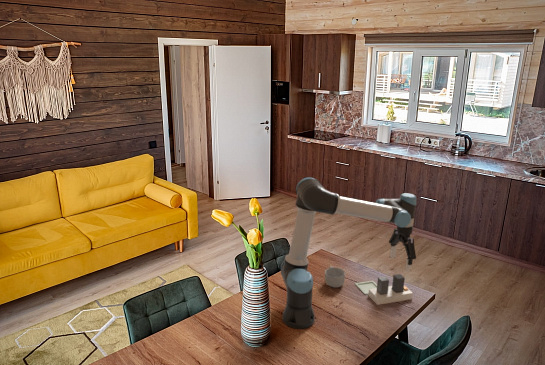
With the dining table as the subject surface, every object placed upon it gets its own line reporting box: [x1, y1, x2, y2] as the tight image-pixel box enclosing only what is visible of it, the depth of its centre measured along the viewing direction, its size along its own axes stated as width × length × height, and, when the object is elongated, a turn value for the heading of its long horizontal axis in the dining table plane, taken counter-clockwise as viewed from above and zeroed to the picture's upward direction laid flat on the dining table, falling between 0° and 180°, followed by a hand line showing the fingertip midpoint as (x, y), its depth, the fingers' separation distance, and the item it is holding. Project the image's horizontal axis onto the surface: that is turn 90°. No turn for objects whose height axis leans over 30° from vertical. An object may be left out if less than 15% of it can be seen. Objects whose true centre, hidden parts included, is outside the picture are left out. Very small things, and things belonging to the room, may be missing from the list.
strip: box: [367, 276, 414, 306], centre depth 218 cm, size 20×9×12 cm, turn 107°
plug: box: [391, 273, 406, 293], centre depth 219 cm, size 4×4×11 cm
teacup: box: [324, 265, 346, 289], centre depth 232 cm, size 14×11×8 cm
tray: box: [354, 280, 377, 296], centre depth 228 cm, size 11×11×1 cm
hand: (400, 263), depth 216 cm, fingers open, 13 cm apart
